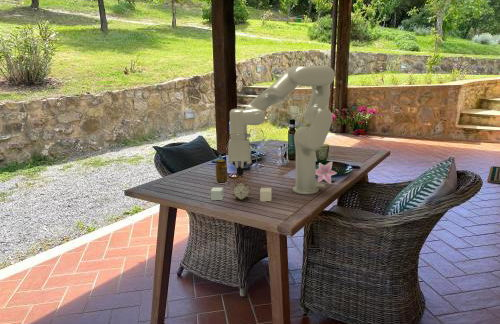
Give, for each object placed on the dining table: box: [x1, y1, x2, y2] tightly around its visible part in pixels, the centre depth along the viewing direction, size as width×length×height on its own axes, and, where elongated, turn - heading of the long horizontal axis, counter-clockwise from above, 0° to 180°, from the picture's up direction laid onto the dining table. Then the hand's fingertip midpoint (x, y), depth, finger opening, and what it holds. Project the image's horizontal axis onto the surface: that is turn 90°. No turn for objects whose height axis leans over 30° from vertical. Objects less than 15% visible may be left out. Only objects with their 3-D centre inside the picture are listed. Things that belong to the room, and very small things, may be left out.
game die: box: [232, 181, 251, 202], centre depth 184 cm, size 9×8×10 cm
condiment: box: [215, 159, 229, 184], centre depth 209 cm, size 7×8×12 cm
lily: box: [315, 161, 337, 185], centre depth 207 cm, size 12×12×10 cm
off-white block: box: [259, 187, 273, 202], centre depth 183 cm, size 5×5×5 cm
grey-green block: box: [210, 187, 225, 201], centre depth 185 cm, size 5×5×5 cm
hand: (240, 175), depth 182 cm, fingers closed
